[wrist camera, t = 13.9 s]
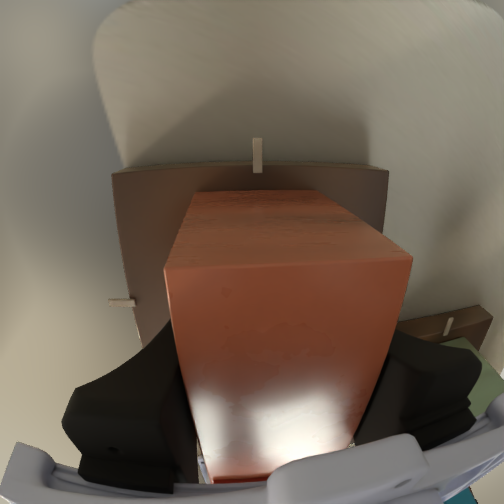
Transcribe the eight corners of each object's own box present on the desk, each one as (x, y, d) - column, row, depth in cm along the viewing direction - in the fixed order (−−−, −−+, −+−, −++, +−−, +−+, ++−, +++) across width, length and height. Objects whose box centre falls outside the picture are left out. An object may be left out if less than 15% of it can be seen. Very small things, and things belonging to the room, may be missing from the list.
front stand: (388, 146, 14) (412, 149, 12) (353, 362, 19) (364, 383, 17) (103, 147, 12) (84, 151, 10) (145, 375, 18) (139, 399, 16)
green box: (414, 349, 17) (471, 428, 10) (464, 335, 17) (519, 398, 10) (375, 433, 20) (404, 498, 14) (420, 418, 21) (452, 474, 14)
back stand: (491, 291, 19) (506, 303, 17) (437, 404, 24) (446, 418, 22) (348, 315, 17) (362, 336, 15) (316, 438, 23) (322, 457, 21)
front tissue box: (194, 191, 12) (160, 274, 5) (317, 190, 12) (421, 260, 5) (210, 376, 15) (212, 494, 9) (299, 370, 16) (334, 480, 9)
